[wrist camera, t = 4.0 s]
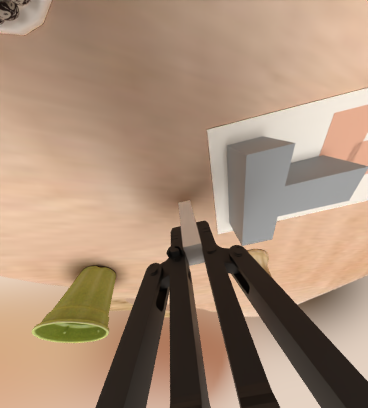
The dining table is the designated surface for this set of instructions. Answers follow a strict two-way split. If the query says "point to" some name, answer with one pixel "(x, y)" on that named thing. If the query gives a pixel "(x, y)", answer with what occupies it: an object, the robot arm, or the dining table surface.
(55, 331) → the plant pot
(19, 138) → the dining table surface
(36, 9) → the decorative candle
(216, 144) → the board
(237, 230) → the T block
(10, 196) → the dining table surface
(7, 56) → the dining table surface
